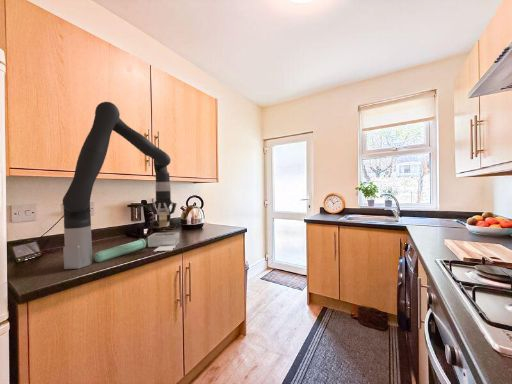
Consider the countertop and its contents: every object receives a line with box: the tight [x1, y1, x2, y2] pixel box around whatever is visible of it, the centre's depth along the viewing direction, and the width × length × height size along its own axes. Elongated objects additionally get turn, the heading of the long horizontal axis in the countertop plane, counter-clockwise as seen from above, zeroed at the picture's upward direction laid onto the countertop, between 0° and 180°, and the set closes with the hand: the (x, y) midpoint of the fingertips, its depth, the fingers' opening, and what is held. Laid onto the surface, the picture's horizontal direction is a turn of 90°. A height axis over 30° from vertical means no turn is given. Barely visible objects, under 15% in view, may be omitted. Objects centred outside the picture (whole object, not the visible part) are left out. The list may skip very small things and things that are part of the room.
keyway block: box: [147, 231, 180, 248], centre depth 131 cm, size 10×15×6 cm, turn 94°
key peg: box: [158, 208, 170, 228], centre depth 120 cm, size 4×4×10 cm
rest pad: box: [152, 245, 177, 253], centre depth 120 cm, size 9×9×1 cm
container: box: [93, 238, 147, 263], centre depth 112 cm, size 6×6×25 cm
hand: (164, 221), depth 120 cm, fingers closed on key peg, 4 cm apart
